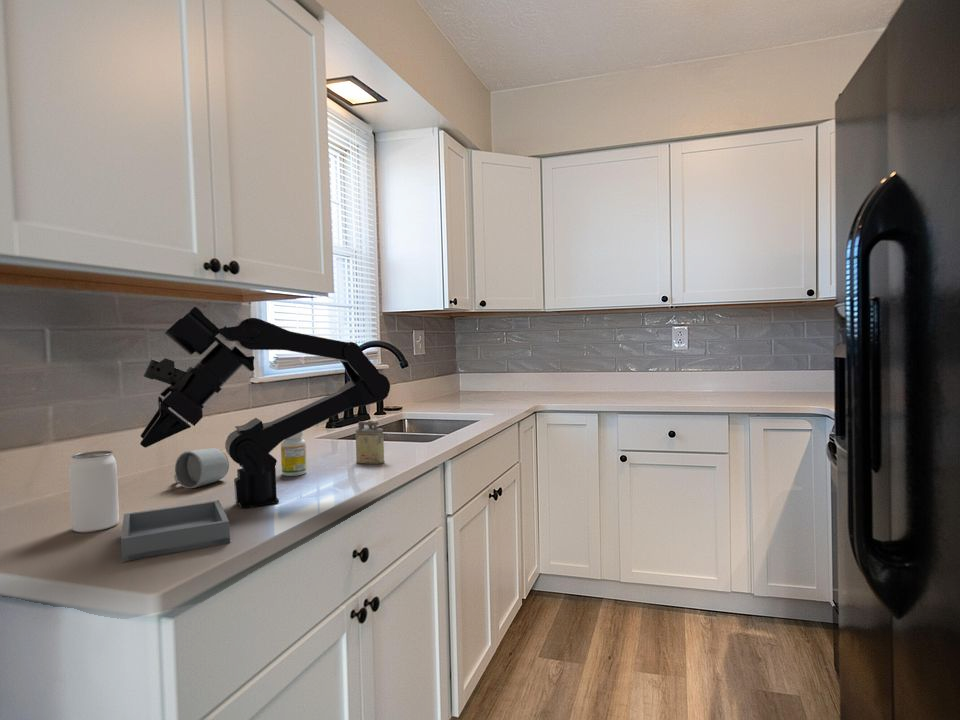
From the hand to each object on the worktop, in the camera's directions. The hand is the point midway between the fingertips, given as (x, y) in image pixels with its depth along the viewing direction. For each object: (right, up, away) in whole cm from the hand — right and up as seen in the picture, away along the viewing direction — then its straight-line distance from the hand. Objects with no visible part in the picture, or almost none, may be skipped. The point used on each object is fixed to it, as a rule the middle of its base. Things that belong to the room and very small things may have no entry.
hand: (142, 441), depth 98 cm
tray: (+11, -13, -10) cm, 20 cm away
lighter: (+30, -11, +42) cm, 53 cm away
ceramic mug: (-3, -13, +25) cm, 28 cm away
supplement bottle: (+15, -12, +32) cm, 38 cm away
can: (-6, -14, -3) cm, 15 cm away
